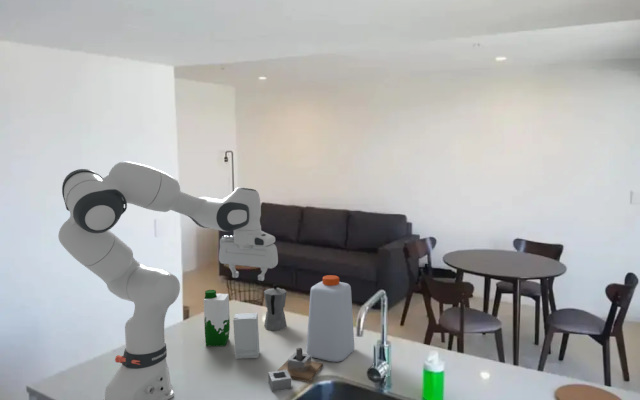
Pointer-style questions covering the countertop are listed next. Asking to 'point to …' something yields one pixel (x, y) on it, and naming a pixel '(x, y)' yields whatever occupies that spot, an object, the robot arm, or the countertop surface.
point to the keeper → (298, 375)
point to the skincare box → (246, 335)
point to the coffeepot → (275, 308)
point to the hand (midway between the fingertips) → (248, 278)
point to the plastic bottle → (330, 320)
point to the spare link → (279, 380)
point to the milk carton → (216, 318)
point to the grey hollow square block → (299, 363)
